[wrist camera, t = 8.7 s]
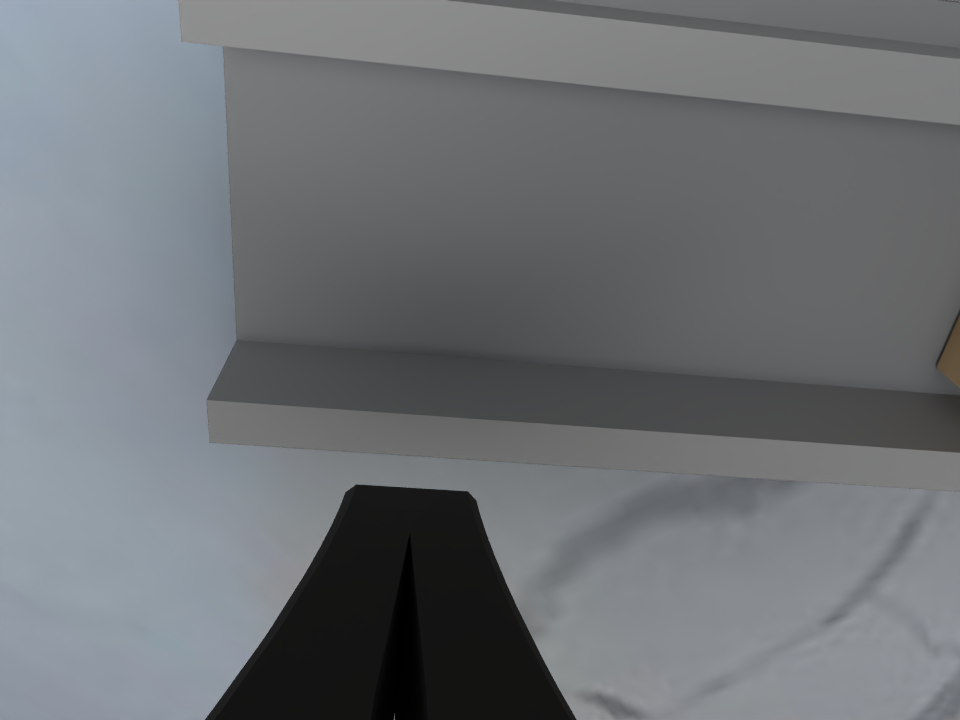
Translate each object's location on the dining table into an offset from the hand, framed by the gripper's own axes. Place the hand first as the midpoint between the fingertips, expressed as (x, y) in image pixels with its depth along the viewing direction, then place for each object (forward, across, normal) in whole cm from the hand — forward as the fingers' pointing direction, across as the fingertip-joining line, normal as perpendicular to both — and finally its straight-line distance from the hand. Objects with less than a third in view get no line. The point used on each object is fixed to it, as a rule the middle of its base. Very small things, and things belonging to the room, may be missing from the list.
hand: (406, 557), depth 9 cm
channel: (+10, -8, -1) cm, 13 cm away
